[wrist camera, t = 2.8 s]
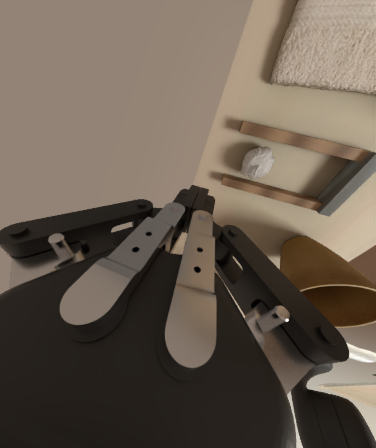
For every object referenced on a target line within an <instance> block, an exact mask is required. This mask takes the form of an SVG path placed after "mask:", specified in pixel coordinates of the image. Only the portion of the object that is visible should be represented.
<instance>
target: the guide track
mask: <svg viewBox="0 0 376 448" xmlns="http://www.w3.org/2000/svg"><path fill="white" fill-rule="evenodd" d="M239 132H240V133H244V134H248V135H252V136H256V137H260V138H264V139H268V140H272V141H276V142H280V143H284V144H289V145H293V146H297V147H301V148H305V149H309V150H313V151H317V152H321V153H325V154H329V155H333V156H337V157H341V158H345V159H349V160H350V161H349V162H348V163H347V164H346V166H345V167H344V168H343V169H342V170H341V171H340V173H339V174H338V175H337V176H336V177H335V178H334V179H333V181H332V182H331V183H330V184H329V185H328V186H327V187H326V189H325V190H324V191H323V192H322V193H321V194H320V196H319V197H318V198H317V199H316V198H313V197H309V196H305V195H301V194H298V193H294V192H290V191H287V190H283V189H279V188H275V187H272V186H268V185H264V184H261V183H257V182H253V181H249V180H246V179H242V178H238V177H235V176H231V175H227V174H224V176H223V179H222V183H221V185H225V186H228V187H232V188H236V189H239V190H243V191H247V192H250V193H254V194H257V195H261V196H265V197H268V198H272V199H276V200H279V201H283V202H287V203H290V204H294V205H297V206H301V207H305V208H308V209H312V210H316V211H317V212H318V213H319V214H322V215H326V216H330V215H331V214H332V213H333V212H334V211H335V210H336V209H338V208H339V207H340V206H341V205H342V204H343V203H344V202H345V201H346V200H347V199H348V198H349V197H350V196H351V195H352V194H353V193H354V192H355V191H356V190H357V189H358V188H359V187H360V186H361V185H362V184H363V183H364V182H365V181H366V180H367V179H368V178H369V177H370V176H371V175H372V174H373V173H375V172H376V153H375V152H371V151H367V150H362V149H358V148H354V147H350V146H346V145H342V144H337V143H333V142H329V141H325V140H321V139H317V138H312V137H308V136H304V135H300V134H296V133H292V132H287V131H283V130H279V129H275V128H271V127H267V126H262V125H258V124H254V123H250V122H246V121H243V122H242V124H241V127H240V130H239Z"/></svg>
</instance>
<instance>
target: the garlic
mask: <svg viewBox="0 0 376 448" xmlns="http://www.w3.org/2000/svg"><path fill="white" fill-rule="evenodd" d="M271 152H272V150H271V148H269V147H262V148H261V147H257V148H255V149H253V150H250V151H249V152H248V153H247V154H246V155H245V157H244V160H243V162H242V169H241V174H243V175H247V176H249V177H250V178H260V177H262V176H264V175H266V174H268V173H269V171H270V168H271V167H272V164H273V163H274V159H275V158H274V157H273V155H272V153H271Z"/></svg>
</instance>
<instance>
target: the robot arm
mask: <svg viewBox="0 0 376 448" xmlns="http://www.w3.org/2000/svg"><path fill="white" fill-rule="evenodd" d="M208 191H209V189H205V188H202V187H201V188H200V187H198V186H195V185H192V186H191V187H190V189H189V190H187V189H183V190H181V191H180V192H179V194H178V195H177V197H176V198H175V200H174V201H173V203H168V204H166V205H165V207H164V208H153V204H152V203H151V202H150V201H148V200H144V199H138V200H133V201H128V202H123V203H118V204H113V205H108V206H102V207H98V208H93V209H87V210H82V211H77V212H72V213H67V214H62V215H57V216H52V217H46V218H41V219H36V220H32V221H26V222H21V223H16V224H13V225H10V226H8V227H5V228H4V229H2V230H1V231H0V246H1V247H2V248H3V249H4V250H5V251H6V252H7V255H8V256H9V257H10V258H11V259H12V262H11V275H10V289H9V290H7V291H5V292H4V293H2V294H0V448H296V432H295V424H294V419H293V414H292V410H291V406H290V403H289V400H288V397H287V394H288V393H289V392H290V391H291V395H292V401H293V407H294V413H295V418H296V423H297V427H298V432H299V436H300V440H301V443H302V446H303V448H376V441H375V439H374V436H373V435H372V433H371V431H370V429H369V427H368V425H367V423H366V421H365V419H364V418H363V416H362V415H361V413H360V412H359V410H358V409H357V408H356V406H355V405H354V404H353V403H352V402H350V401H349V400H347V399H345V398H343V397H340V396H336V395H332V394H328V393H323V392H319V391H314V390H309V389H307V387H306V384H307V381H308V380H309V379H310V378H312V377H313V376H315V375H318V374H322V373H326V372H329V371H330V370H331V369H332V367H333V365H332V363H337V362H343V361H346V360H347V359H348V358H349V349H348V346H347V344H346V342H345V340H344V338H343V337H342V335H341V334H340V332H339V331H338V330H337V329H336V328H335V327H334V326H333V324H332V323H331V322H330V321H329V320H328V319H327V318H326V317H325V316H324V315H323V314H322V313H321V312H320V311H319V310H318V309H317V308H316V307H315V306H314V305H313V304H312V303H311V302H310V301H309V300H308V299H307V298H306V297H305V296H304V295H303V294H302V292H301V291H300V290H299V289H298V288H297V287H296V286H295V285H294V284H293V283H292V282H291V281H290V280H289V279H288V278H287V277H286V276H285V275H284V274H283V273H282V272H281V271H280V270H279V269H278V268H277V267H276V266H275V265H274V264H273V263H272V262H271V260H270V259H269V258H268V257H267V256H266V255H265V254H264V253H263V252H262V251H261V250H260V249H259V248H258V247H257V246H256V245H255V244H254V243H253V242H252V241H251V240H250V239H249V238H248V237H247V236H246V235H245V234H244V233H243V232H242V231H241V230H240V229H239V228H237V227H235V226H232V225H226V226H224V227H223V228H222V227H220V226H219V225H217V224H216V223H215V222H214V221H213V217H212V215H213V209H214V204H215V199H214V197H213V196H209V195H208ZM128 222H132V225H133V227H130V228H126V229H123V230H120V231H116V232H113V233H111V230H112V228H113V227H115V226H117V225H121V224H125V223H128ZM186 230H187V231H186ZM182 232H184V233H185V232H186V233H188V235H187V239H186V243H185V247H184V251H183V255H179V254H171V253H172V252H173V250H174V248H175V246H176V244H177V242H178V241H179V238H180V235H181V233H182ZM233 256H234V257H235V258H236V259H237V261H238V262H239V263H240V265H241V266H242V268H243V271H242V269H241V268H240V267H239V265H238V264H237V263H236V262H235V260H234V259H233V258H232V257H233ZM215 268H216V270H217V272H218V273H219V275H220V276H221V278H222V280H223V281H224V283H225V284H226V286H227V288H228V289H229V291H230V292H231V294H232V295H233V297H234V299H235V300H236V302H237V303H238V305H239V307H240V308H241V310H242V311H243V313H244V315H245V319H244V317H243V316H242V314H241V312H240V310H239V309H238V307H237V305H236V304H235V302H234V300H233V298H232V297H231V295H230V293H229V292H228V290H227V288H226V286H225V285H224V283H223V281H222V280H221V279H220V277H219V276H218V275H217V274H216V273H215V272H214V270H215Z"/></svg>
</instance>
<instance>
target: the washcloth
mask: <svg viewBox="0 0 376 448" xmlns="http://www.w3.org/2000/svg"><path fill="white" fill-rule="evenodd" d="M270 82H271V84H282V85H283V84H284V85H285V86H288V85H291V86H295V85H297V86H304V87H309V88H321V89H323V90H326V89H328V90H345V91H354V92H358V93H367V94H372V95H373V94H374V95H376V0H298V2H297V5H296V7H295V10H294V14H293V16H292V18H291V23H290V25H289V27H288V29H287V30H286V32H285V35H284V38H283V41H282V43H281V47H280V50H279V52H278V57H277V60H276V61H275V66H274V69H273V72H272V76H271V80H270Z"/></svg>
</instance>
